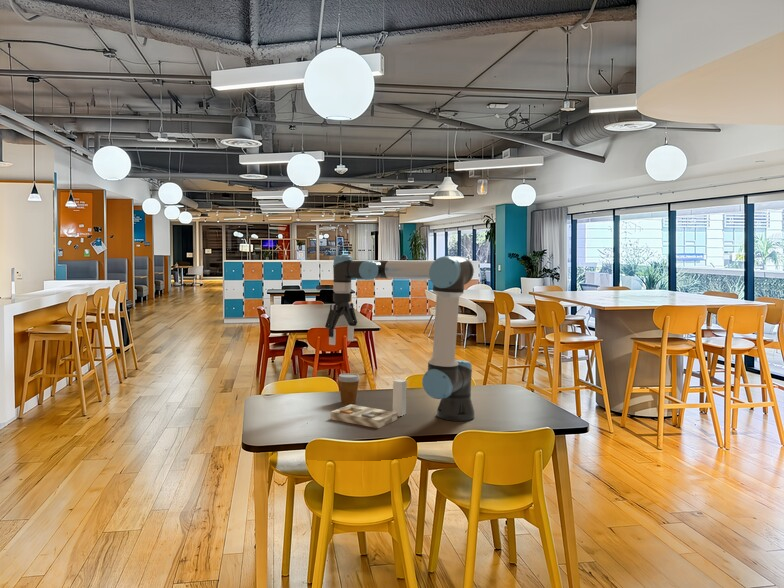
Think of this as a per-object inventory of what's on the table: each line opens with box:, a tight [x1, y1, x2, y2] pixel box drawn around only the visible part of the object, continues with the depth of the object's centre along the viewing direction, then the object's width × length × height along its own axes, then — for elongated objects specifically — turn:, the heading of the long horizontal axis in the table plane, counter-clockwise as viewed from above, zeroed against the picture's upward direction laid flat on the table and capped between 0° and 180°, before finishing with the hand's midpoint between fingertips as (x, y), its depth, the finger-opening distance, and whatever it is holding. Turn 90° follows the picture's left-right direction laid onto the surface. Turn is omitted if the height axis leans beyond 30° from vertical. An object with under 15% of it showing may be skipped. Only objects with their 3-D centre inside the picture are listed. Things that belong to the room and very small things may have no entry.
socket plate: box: [330, 404, 398, 429], centre depth 242 cm, size 22×14×4 cm, turn 60°
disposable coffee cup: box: [337, 372, 361, 405], centre depth 269 cm, size 10×10×12 cm
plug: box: [392, 379, 408, 417], centre depth 250 cm, size 4×4×14 cm
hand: (341, 342), depth 260 cm, fingers open, 13 cm apart
